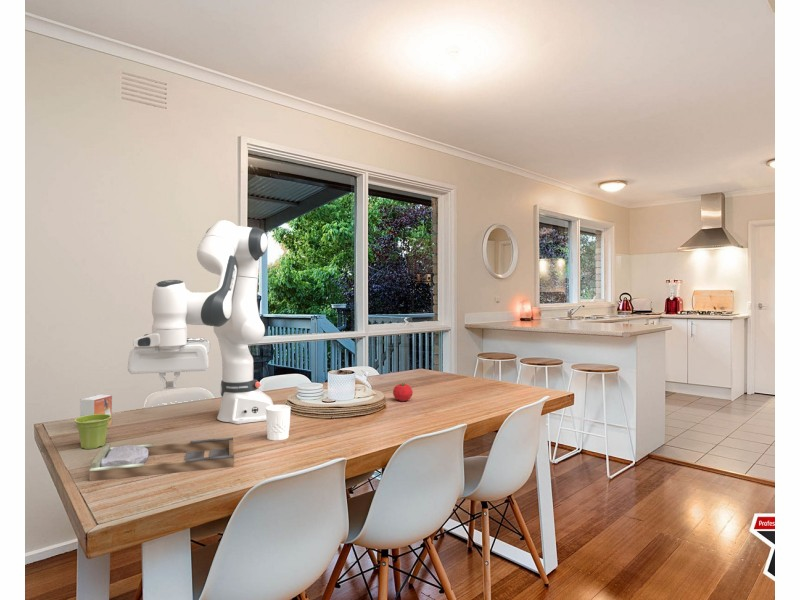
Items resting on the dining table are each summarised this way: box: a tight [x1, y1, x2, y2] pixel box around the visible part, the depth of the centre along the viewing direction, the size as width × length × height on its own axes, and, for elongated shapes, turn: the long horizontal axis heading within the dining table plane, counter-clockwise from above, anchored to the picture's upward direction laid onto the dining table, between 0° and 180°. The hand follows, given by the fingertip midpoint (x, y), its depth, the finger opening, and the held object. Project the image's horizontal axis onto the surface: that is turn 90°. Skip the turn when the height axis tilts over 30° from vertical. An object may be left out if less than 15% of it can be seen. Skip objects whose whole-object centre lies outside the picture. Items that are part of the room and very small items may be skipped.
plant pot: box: [74, 414, 111, 450], centre depth 145 cm, size 9×9×9 cm
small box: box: [79, 394, 113, 427], centre depth 165 cm, size 8×6×10 cm
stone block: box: [101, 444, 149, 467], centre depth 131 cm, size 12×5×10 cm
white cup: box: [265, 404, 292, 442], centre depth 157 cm, size 8×8×10 cm
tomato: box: [392, 382, 414, 402], centre depth 214 cm, size 9×9×8 cm
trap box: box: [89, 437, 235, 482], centre depth 134 cm, size 34×18×4 cm, turn 110°
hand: (169, 388), depth 133 cm, fingers closed
